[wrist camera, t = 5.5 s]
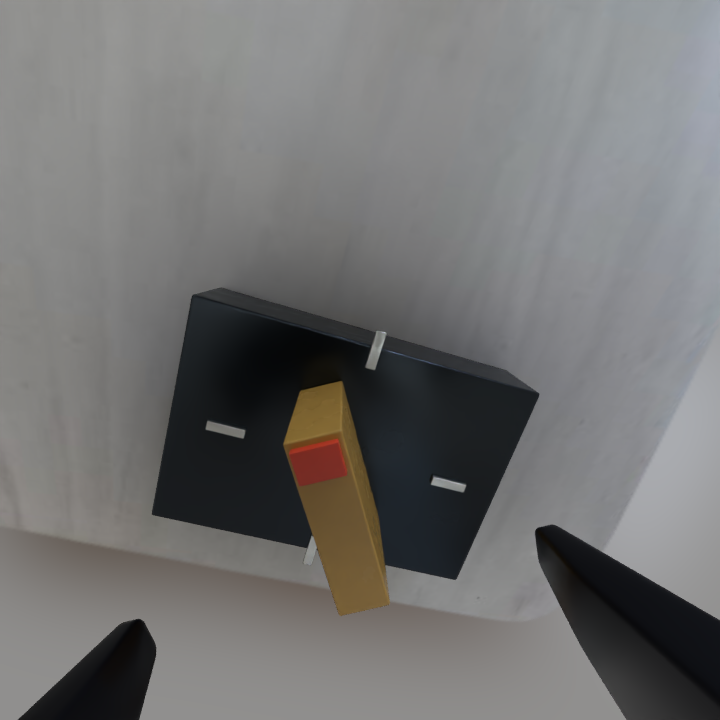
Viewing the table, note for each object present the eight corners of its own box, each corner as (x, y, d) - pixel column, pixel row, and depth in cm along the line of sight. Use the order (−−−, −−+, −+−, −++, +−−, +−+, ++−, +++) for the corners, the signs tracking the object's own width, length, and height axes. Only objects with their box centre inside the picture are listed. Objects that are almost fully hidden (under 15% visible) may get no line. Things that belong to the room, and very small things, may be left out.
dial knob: (378, 516, 15) (391, 613, 11) (340, 525, 15) (339, 624, 11) (342, 380, 14) (342, 433, 9) (299, 390, 14) (280, 448, 9)
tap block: (512, 357, 17) (549, 380, 14) (435, 541, 19) (452, 595, 16) (222, 272, 15) (192, 276, 12) (179, 483, 18) (146, 530, 15)
